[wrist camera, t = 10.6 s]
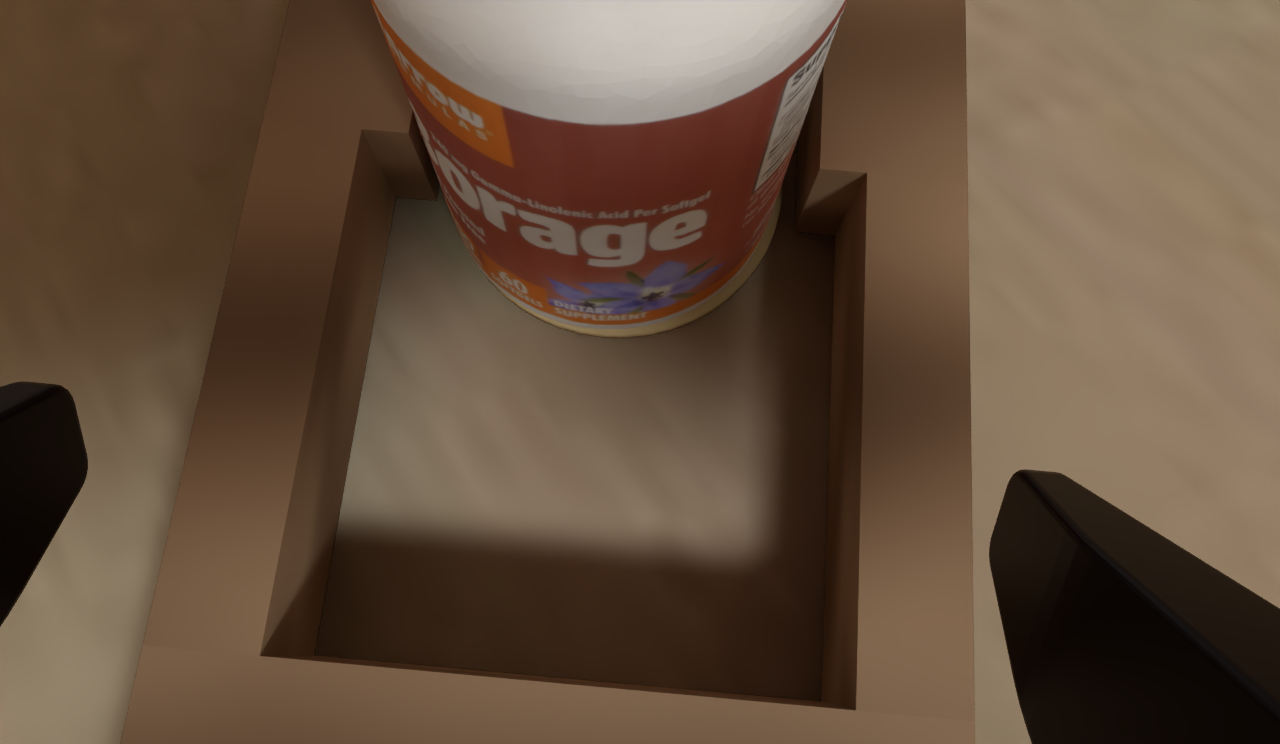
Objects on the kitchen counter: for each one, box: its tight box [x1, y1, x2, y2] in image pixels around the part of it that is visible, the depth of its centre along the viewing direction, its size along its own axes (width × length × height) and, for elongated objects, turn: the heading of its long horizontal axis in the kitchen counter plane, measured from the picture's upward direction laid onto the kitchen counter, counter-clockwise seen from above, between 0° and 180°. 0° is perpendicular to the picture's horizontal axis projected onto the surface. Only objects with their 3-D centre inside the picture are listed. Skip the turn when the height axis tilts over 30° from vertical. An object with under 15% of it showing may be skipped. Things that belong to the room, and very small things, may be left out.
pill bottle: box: [371, 0, 847, 329], centre depth 13 cm, size 6×6×11 cm
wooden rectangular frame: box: [120, 0, 975, 744], centre depth 16 cm, size 20×12×2 cm, turn 175°
